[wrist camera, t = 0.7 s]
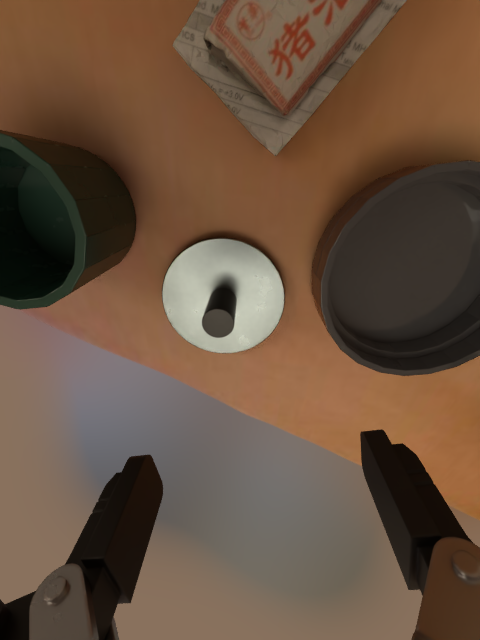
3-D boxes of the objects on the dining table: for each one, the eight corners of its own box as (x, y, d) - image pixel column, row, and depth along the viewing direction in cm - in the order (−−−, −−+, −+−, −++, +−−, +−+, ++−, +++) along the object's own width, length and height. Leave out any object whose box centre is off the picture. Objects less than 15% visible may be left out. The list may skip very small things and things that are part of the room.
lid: (152, 243, 27) (127, 258, 22) (280, 229, 26) (288, 242, 21) (177, 352, 32) (162, 387, 26) (286, 343, 31) (294, 378, 26)
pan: (309, 178, 25) (321, 177, 20) (531, 151, 23) (591, 145, 19) (311, 356, 32) (320, 382, 28) (481, 343, 30) (517, 368, 26)
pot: (-8, 153, 24) (-136, 139, 16) (117, 136, 24) (47, 112, 16) (42, 277, 29) (-40, 315, 21) (148, 266, 28) (107, 301, 20)
